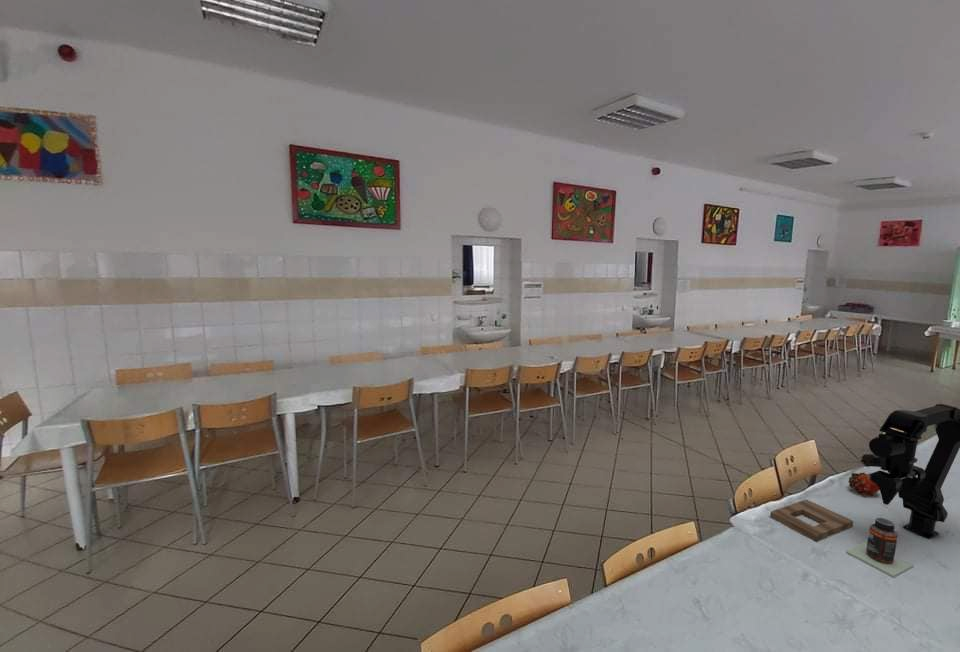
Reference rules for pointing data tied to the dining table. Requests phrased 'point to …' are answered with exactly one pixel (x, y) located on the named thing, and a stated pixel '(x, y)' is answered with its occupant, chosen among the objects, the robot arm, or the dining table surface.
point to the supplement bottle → (882, 541)
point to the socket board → (825, 517)
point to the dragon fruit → (863, 484)
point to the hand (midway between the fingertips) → (893, 501)
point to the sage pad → (888, 568)
